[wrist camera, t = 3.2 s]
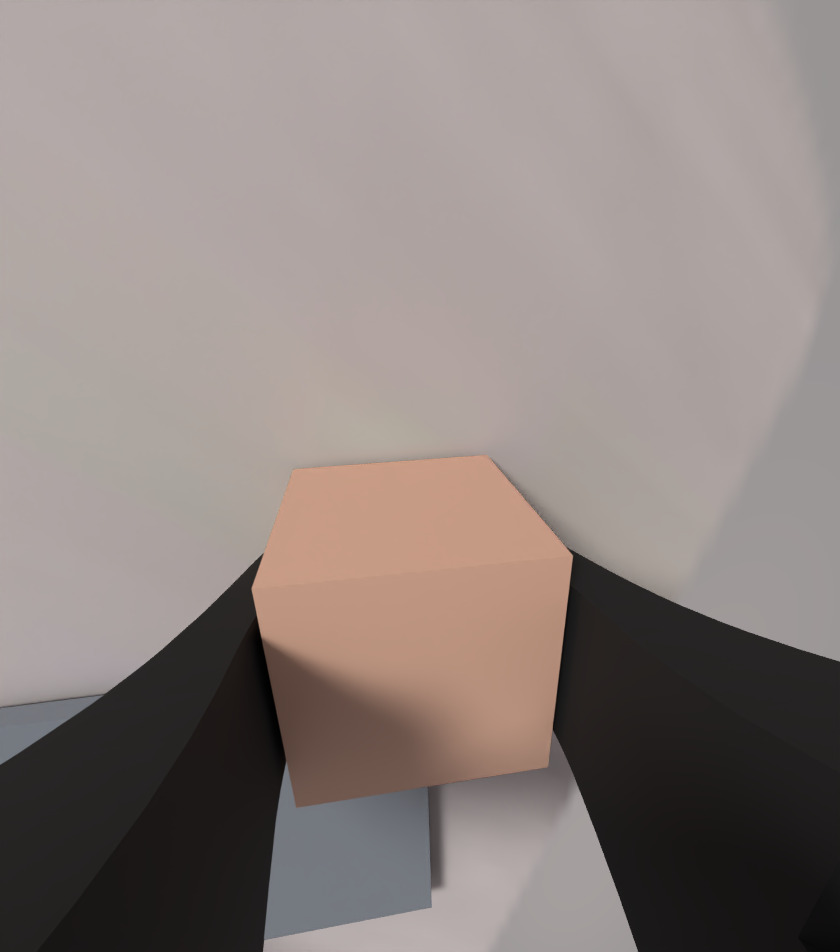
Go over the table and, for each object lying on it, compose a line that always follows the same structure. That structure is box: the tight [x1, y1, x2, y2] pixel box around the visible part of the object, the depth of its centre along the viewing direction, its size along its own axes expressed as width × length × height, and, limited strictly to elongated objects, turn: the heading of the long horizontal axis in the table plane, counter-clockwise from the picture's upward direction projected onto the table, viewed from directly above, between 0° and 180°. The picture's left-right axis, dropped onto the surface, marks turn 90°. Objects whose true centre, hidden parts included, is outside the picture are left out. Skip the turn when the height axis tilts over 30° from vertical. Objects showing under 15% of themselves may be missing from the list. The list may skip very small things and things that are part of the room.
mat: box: [0, 695, 432, 940], centre depth 13 cm, size 11×11×1 cm
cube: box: [252, 455, 573, 808], centre depth 9 cm, size 4×4×4 cm
